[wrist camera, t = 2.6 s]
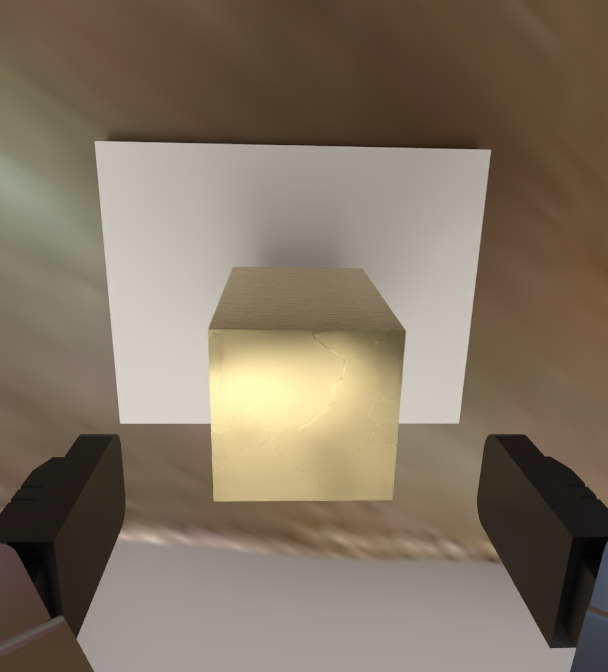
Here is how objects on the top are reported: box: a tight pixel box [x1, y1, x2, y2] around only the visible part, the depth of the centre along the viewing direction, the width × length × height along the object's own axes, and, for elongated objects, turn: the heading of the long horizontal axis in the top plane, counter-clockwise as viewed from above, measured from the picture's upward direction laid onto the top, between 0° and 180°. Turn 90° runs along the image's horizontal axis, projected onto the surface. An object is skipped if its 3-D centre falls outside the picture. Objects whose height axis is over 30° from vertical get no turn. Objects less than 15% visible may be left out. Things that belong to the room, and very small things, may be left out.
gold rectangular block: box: [208, 267, 406, 501], centre depth 19 cm, size 5×5×8 cm
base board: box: [95, 141, 491, 423], centre depth 29 cm, size 18×14×2 cm
